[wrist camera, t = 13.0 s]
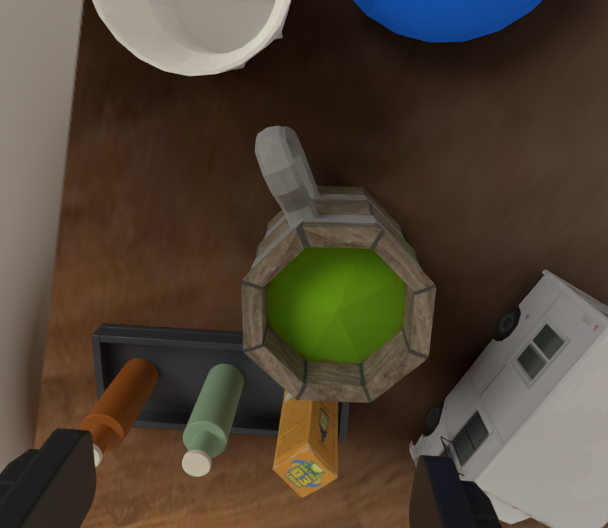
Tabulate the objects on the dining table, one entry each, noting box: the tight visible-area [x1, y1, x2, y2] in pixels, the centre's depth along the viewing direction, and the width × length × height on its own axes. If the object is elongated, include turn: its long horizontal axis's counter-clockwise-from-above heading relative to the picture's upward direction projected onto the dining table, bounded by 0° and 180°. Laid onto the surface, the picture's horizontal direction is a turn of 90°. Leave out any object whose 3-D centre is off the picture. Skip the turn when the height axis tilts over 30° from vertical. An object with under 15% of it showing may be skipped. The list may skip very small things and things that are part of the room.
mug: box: [241, 126, 436, 403], centre depth 31 cm, size 16×11×12 cm
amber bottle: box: [80, 358, 159, 467], centre depth 36 cm, size 3×3×10 cm
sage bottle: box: [182, 364, 244, 477], centre depth 36 cm, size 3×3×10 cm
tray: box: [92, 323, 349, 441], centre depth 40 cm, size 20×8×2 cm, turn 87°
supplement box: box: [273, 390, 338, 497], centre depth 36 cm, size 3×3×10 cm
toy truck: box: [409, 270, 608, 528], centre depth 36 cm, size 13×20×10 cm, turn 137°
